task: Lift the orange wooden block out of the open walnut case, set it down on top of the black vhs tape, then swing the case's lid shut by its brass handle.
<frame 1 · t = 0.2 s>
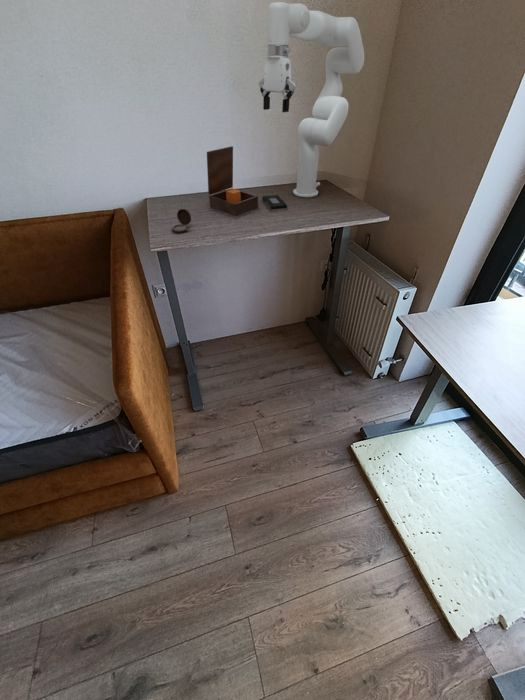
hand: (275, 110, 131), 36 cm above the table, tool pointing down, fingers open, 9 cm apart
block: (234, 207, 152), point 1 cm above the table, touching case
case lid: (217, 169, 147), point 15 cm above the table, hinge at 85.0°
compass: (183, 230, 135), on the table
vhs tape: (274, 205, 157), on the table
case: (234, 208, 152), on the table
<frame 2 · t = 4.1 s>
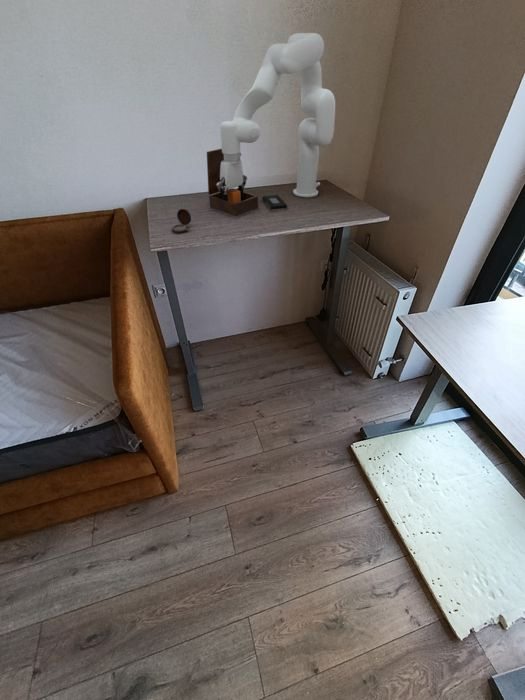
hand: (233, 200, 150), 4 cm above the table, tool pointing down, fingers open, 9 cm apart
nothing on the table moved.
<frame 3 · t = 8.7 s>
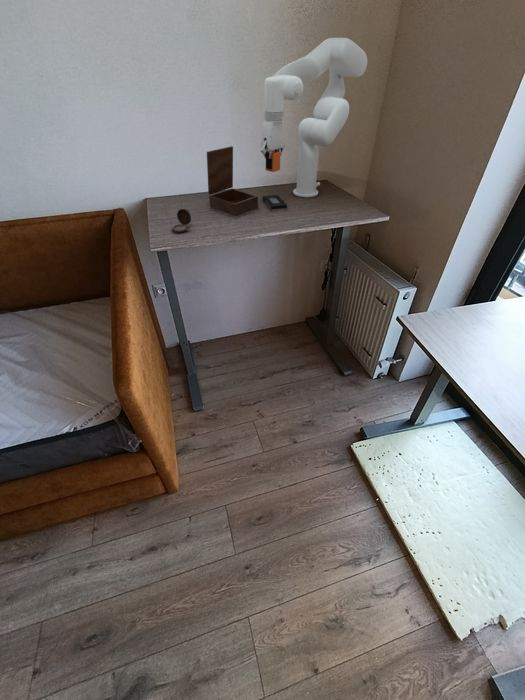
hand: (272, 166, 145), 16 cm above the table, tool pointing down, fingers closed on block, 4 cm apart
block: (272, 170, 146), point 15 cm above the table, touching gripper
everything else where it was.
when the fingers open (3 cm above the table, at t = 12.6 s): block stays where it is, resting on vhs tape.
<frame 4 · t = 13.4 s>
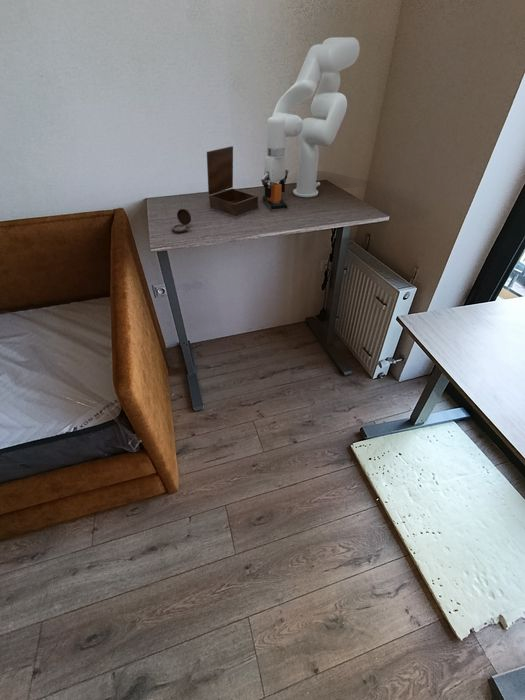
hand: (274, 194, 153), 5 cm above the table, tool pointing down, fingers open, 9 cm apart
block: (274, 200, 155), point 2 cm above the table, touching vhs tape
vhs tape: (274, 205, 157), on the table, touching block
everything else where it was.
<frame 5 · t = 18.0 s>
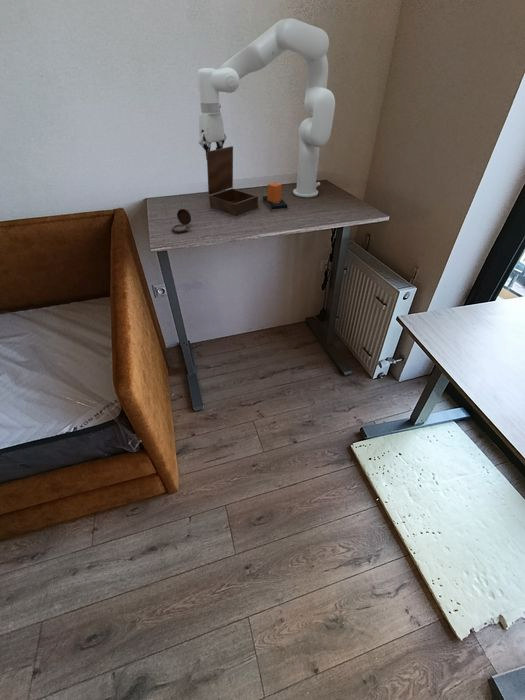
hand: (214, 159, 145), 19 cm above the table, tool pointing down, fingers closed on case lid, 5 cm apart
case lid: (217, 169, 147), point 15 cm above the table, hinge at 85.0°, touching gripper
everything else where it was.
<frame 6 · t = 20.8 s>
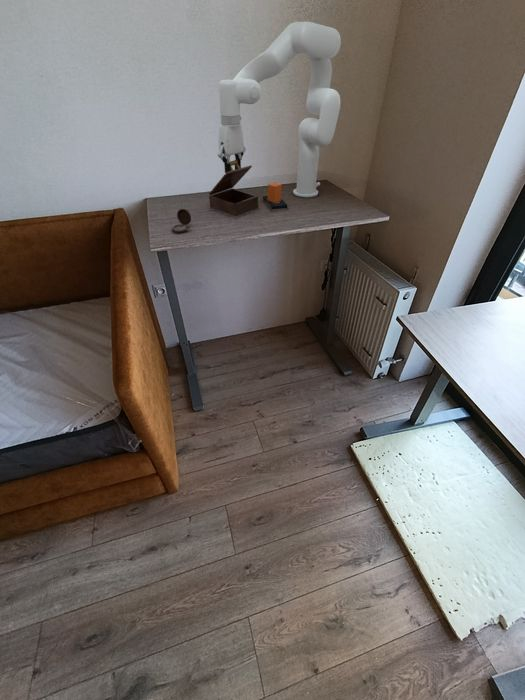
hand: (233, 171, 142), 16 cm above the table, tool pointing down, fingers closed on case lid, 5 cm apart
case lid: (227, 175, 145), point 13 cm above the table, hinge at 41.0°, touching gripper
everything else where it was.
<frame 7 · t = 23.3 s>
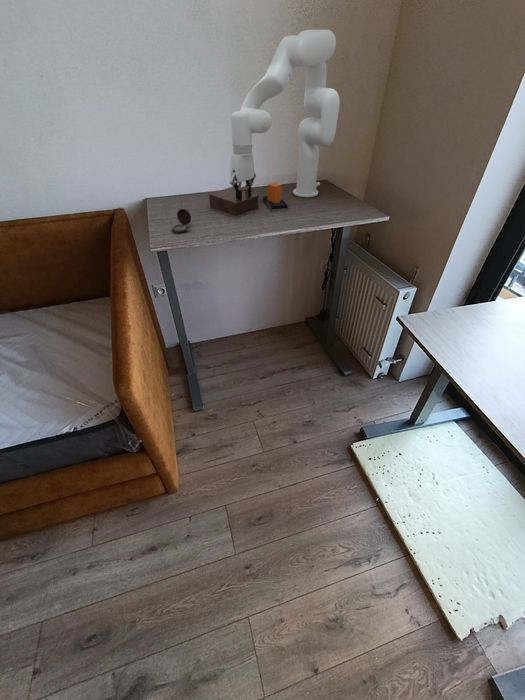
hand: (243, 196, 145), 7 cm above the table, tool pointing down, fingers closed on case lid, 5 cm apart
case lid: (233, 189, 147), point 8 cm above the table, hinge at -0.2°, touching case, gripper
everything else where it was.
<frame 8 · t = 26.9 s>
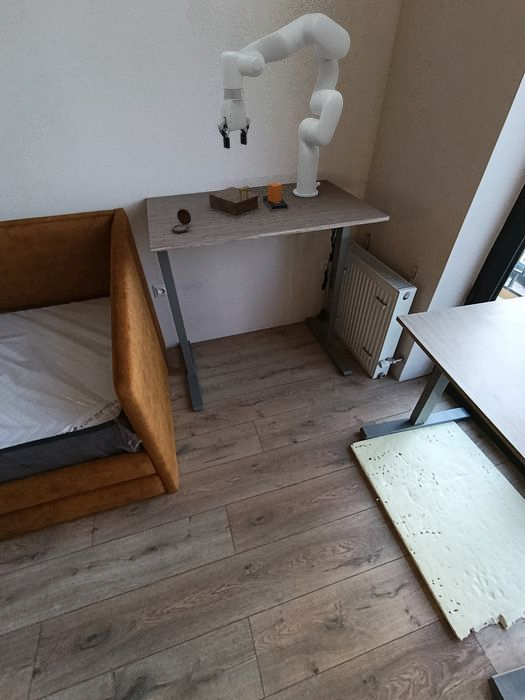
hand: (235, 146, 138), 24 cm above the table, tool pointing down, fingers open, 9 cm apart
case lid: (233, 189, 147), point 8 cm above the table, hinge at -0.2°, touching case
everything else where it was.
at the end: block 0.3 cm off-centre on the vhs tape, point 2.2 cm above the vhs tape's base; block tilted 0°; case lid at +0° (first picture: +85°) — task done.
